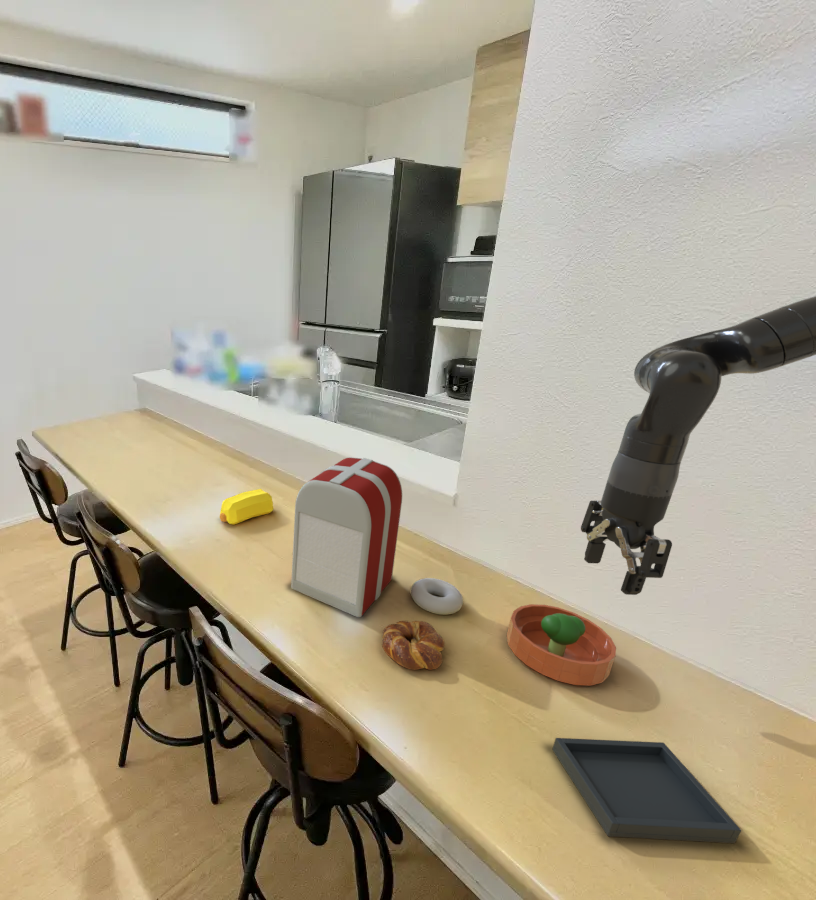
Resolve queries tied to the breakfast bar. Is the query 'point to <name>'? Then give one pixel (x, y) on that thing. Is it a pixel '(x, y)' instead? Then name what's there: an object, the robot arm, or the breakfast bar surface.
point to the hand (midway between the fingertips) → (609, 576)
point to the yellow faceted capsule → (246, 506)
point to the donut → (438, 605)
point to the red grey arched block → (347, 534)
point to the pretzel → (413, 644)
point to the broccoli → (562, 631)
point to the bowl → (580, 660)
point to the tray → (643, 791)
